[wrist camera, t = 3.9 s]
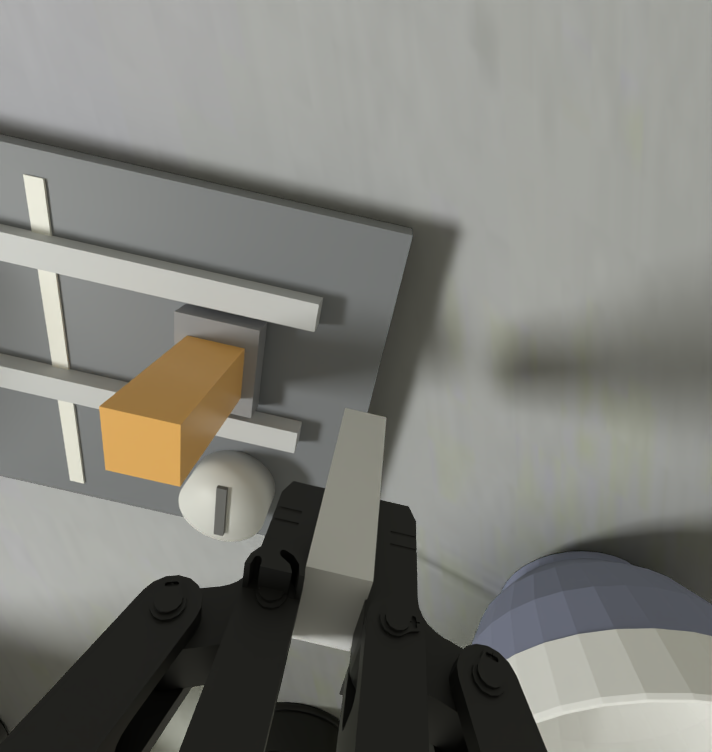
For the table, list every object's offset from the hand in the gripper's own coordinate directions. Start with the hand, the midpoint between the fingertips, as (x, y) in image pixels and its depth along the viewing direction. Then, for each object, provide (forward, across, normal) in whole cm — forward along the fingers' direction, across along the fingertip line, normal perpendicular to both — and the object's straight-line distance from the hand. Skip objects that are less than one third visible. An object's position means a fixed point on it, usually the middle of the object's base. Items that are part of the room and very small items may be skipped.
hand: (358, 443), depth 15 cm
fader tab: (+4, -7, 0) cm, 8 cm away
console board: (+6, -11, -2) cm, 13 cm away
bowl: (+7, +16, -13) cm, 22 cm away
